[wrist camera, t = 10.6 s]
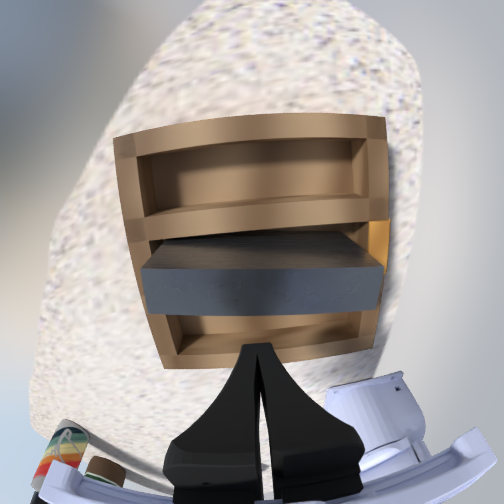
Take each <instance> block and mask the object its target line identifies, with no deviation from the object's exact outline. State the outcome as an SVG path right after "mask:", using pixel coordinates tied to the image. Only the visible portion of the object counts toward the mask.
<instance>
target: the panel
mask: <svg viewBox="0 0 504 504" xmlns="http://www.w3.org/2000/svg"><path fill="white" fill-rule="evenodd" d="M140 271H141V277H142V284H143V290H144V295H145V301H146V306H147V311H148V314H164V315H192V316H276V315H304V314H323V313H339V312H353V311H365V310H376V306H377V301H378V297H379V292H380V287H381V283H382V277H383V272H384V266H383V265H382V264H381V263H380V262H378V261H377V260H376V259H375V258H373V257H372V256H371V255H370V254H369V253H367V252H366V251H365V250H364V249H362V248H361V247H360V246H359V245H357V244H356V243H355V242H354V241H352V240H351V239H350V238H348V237H347V236H346V235H345V234H343V233H342V232H341V231H280V230H249V231H238V232H227V233H217V234H207V235H197V236H187V237H178V238H168V239H166V240H165V241H164V243H163V244H162V245H161V246H160V247H159V248H158V249H157V250H156V251H155V252H154V254H153V255H152V256H151V257H150V258H149V259H148V260H147V261H146V263H145V264H144V265H143V266H142V267H141V268H140Z"/></svg>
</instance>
